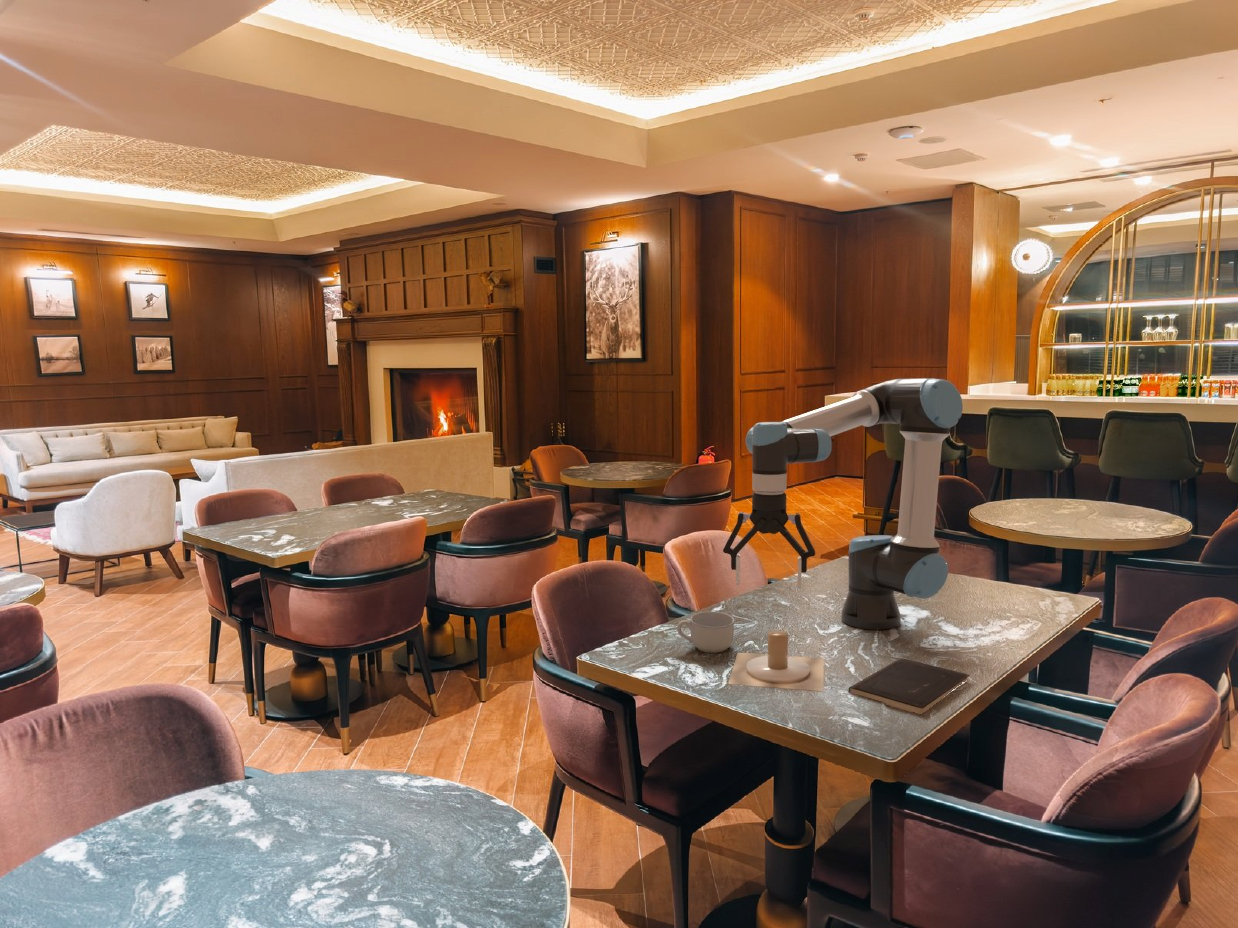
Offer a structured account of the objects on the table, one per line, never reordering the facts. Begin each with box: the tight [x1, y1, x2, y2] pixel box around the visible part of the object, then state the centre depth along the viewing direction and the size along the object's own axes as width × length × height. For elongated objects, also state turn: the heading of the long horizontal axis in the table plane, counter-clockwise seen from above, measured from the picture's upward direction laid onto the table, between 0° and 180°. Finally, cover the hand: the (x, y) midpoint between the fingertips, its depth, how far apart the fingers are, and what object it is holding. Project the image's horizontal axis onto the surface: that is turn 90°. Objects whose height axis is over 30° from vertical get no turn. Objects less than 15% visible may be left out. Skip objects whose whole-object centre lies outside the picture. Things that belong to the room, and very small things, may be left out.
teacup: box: [676, 610, 736, 654], centre depth 200 cm, size 14×11×8 cm
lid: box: [746, 630, 810, 683], centre depth 184 cm, size 14×14×8 cm
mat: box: [727, 652, 825, 692], centre depth 185 cm, size 20×20×1 cm
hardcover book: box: [848, 657, 970, 715], centre depth 175 cm, size 16×23×2 cm
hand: (768, 585), depth 185 cm, fingers open, 13 cm apart
